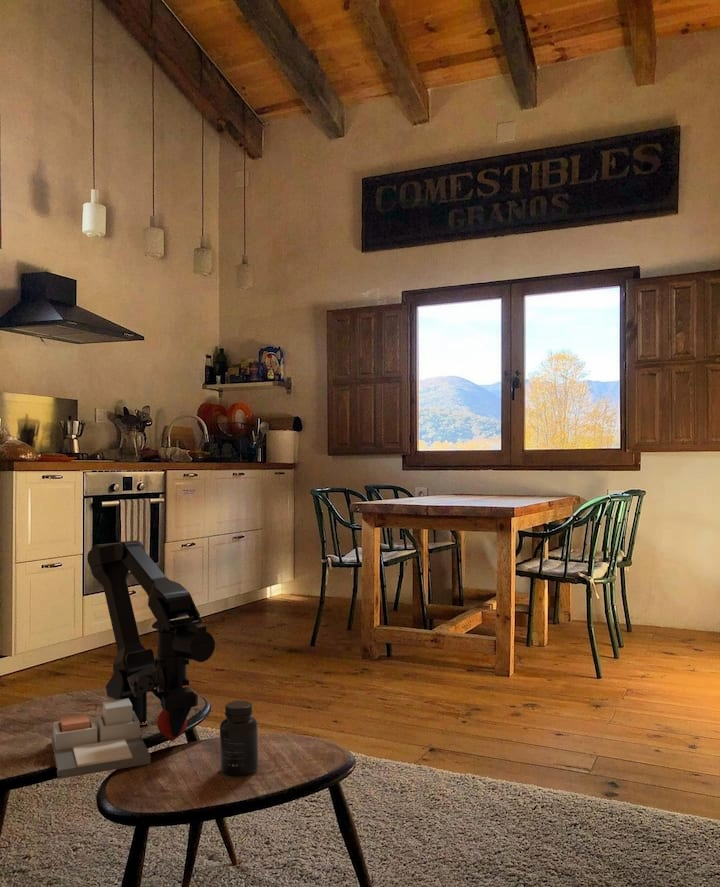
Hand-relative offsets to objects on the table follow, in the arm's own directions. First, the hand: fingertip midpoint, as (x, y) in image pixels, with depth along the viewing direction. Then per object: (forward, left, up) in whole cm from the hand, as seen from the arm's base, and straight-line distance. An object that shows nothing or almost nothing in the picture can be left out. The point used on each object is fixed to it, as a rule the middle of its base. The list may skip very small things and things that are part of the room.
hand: (172, 731), depth 157 cm
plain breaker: (+10, -4, +2) cm, 11 cm away
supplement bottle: (-8, +20, -2) cm, 22 cm away
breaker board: (+14, +1, -2) cm, 14 cm away
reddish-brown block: (+18, -4, 0) cm, 18 cm away
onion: (0, 0, -2) cm, 2 cm away
